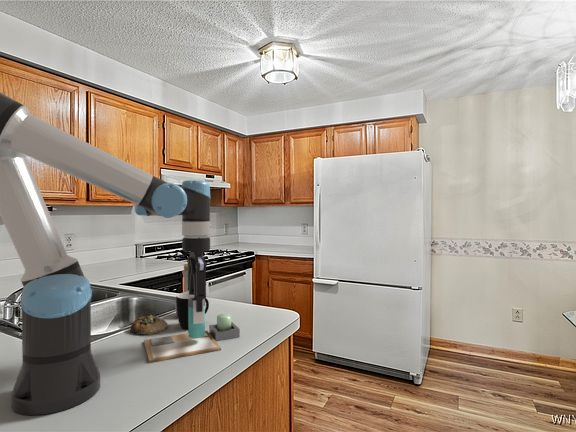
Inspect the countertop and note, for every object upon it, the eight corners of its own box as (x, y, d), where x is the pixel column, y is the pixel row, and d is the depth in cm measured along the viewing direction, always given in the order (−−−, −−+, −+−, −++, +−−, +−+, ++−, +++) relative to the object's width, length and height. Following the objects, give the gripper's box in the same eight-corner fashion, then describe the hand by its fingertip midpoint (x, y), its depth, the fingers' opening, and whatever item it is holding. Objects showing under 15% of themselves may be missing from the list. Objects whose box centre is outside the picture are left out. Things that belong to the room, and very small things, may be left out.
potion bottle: (192, 309, 132) (192, 261, 132) (204, 315, 126) (204, 264, 125) (169, 314, 126) (169, 264, 126) (181, 320, 120) (181, 267, 119)
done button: (219, 332, 104) (219, 319, 103) (215, 328, 107) (215, 315, 107) (233, 330, 105) (233, 317, 105) (228, 326, 109) (228, 313, 109)
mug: (189, 333, 108) (189, 300, 108) (170, 327, 113) (170, 295, 112) (217, 322, 118) (217, 292, 118) (198, 317, 123) (198, 288, 122)
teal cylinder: (190, 339, 96) (189, 302, 96) (186, 333, 100) (186, 298, 100) (206, 336, 98) (206, 300, 98) (202, 331, 102) (202, 296, 102)
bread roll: (125, 327, 112) (128, 311, 112) (160, 325, 119) (162, 310, 119) (135, 339, 103) (138, 322, 104) (172, 336, 110) (175, 320, 110)
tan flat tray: (149, 362, 87) (149, 359, 87) (143, 341, 100) (143, 339, 100) (221, 350, 95) (221, 347, 95) (207, 332, 109) (207, 329, 109)
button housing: (215, 341, 102) (215, 332, 101) (209, 333, 108) (209, 325, 108) (239, 337, 105) (239, 329, 105) (232, 329, 111) (232, 321, 111)
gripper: (218, 238, 92) (218, 328, 93) (202, 234, 108) (202, 310, 108) (188, 239, 89) (189, 332, 89) (176, 234, 104) (177, 313, 105)
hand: (196, 320), depth 99 cm, fingers closed on teal cylinder, 4 cm apart
